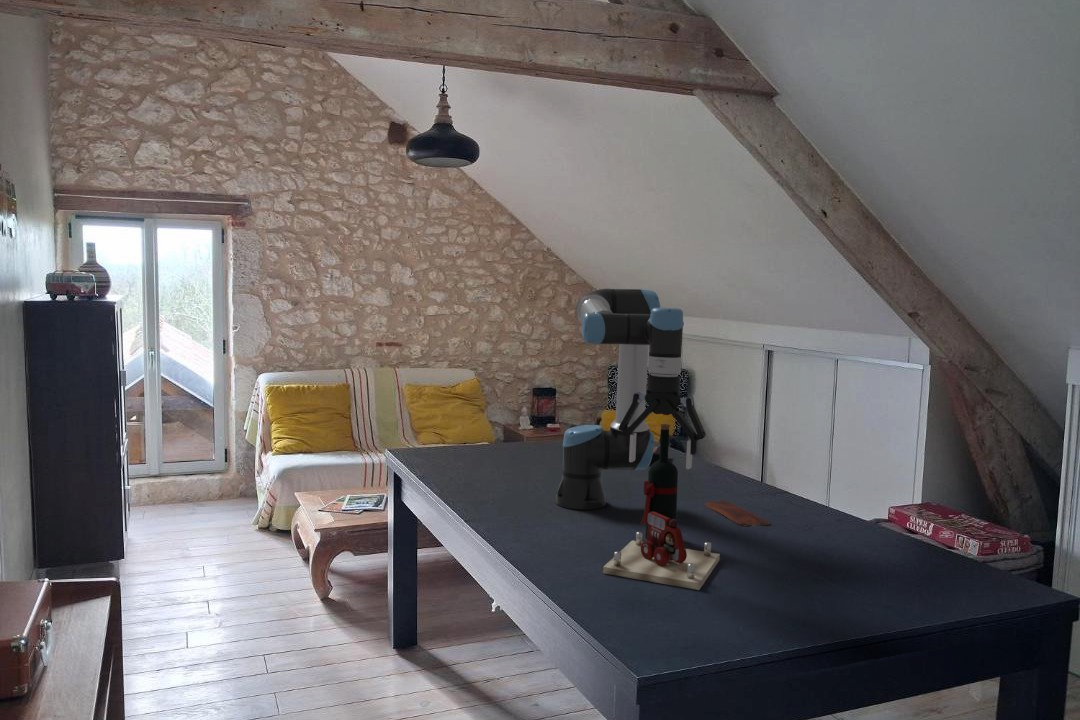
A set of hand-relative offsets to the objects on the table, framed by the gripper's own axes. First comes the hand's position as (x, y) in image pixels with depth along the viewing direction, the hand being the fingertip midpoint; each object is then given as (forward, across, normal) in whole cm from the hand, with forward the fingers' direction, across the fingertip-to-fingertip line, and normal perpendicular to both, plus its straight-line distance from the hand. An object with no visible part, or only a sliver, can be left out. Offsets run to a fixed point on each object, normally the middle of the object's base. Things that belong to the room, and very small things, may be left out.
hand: (660, 464), depth 190 cm
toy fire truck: (+22, +2, -2) cm, 23 cm away
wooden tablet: (+25, +9, +54) cm, 60 cm away
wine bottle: (+24, -4, +18) cm, 31 cm away
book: (+26, -40, +111) cm, 121 cm away
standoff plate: (+24, +2, -2) cm, 24 cm away
